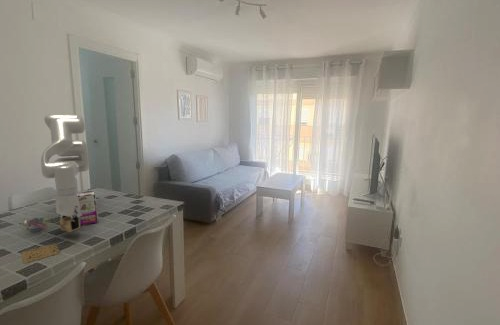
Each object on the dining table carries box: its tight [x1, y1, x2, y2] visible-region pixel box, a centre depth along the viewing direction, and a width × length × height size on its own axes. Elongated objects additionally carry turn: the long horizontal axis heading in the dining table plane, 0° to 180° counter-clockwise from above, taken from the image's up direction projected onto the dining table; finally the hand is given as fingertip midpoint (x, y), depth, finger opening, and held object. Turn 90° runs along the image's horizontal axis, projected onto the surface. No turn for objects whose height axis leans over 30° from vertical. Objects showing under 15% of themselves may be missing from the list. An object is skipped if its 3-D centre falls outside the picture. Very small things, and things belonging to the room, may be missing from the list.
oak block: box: [59, 216, 81, 233], centre depth 121 cm, size 6×6×6 cm
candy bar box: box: [74, 191, 99, 226], centre depth 136 cm, size 11×5×16 cm, turn 117°
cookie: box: [20, 242, 61, 265], centre depth 107 cm, size 12×12×1 cm
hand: (70, 227), depth 122 cm, fingers closed on oak block, 5 cm apart
